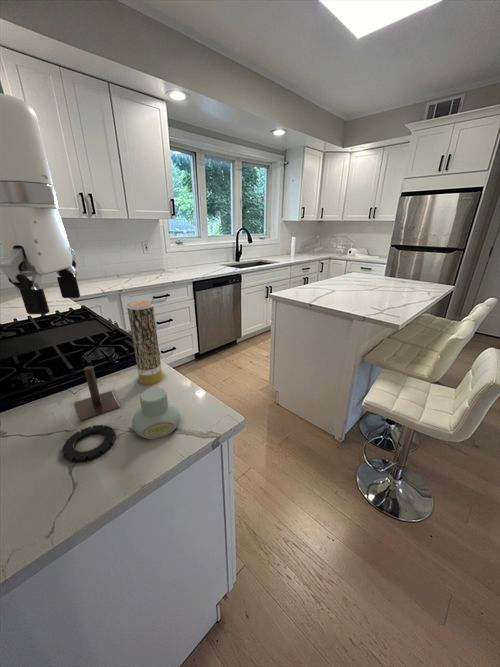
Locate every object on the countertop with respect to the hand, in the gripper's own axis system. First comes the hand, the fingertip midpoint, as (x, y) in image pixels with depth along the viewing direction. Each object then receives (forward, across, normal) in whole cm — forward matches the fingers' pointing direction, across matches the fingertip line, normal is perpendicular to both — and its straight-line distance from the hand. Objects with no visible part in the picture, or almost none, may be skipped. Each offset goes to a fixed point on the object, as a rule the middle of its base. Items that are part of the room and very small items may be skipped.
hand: (56, 304), depth 49 cm
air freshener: (+33, -5, +13) cm, 36 cm away
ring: (+33, 0, -1) cm, 33 cm away
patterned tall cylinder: (+33, -27, +5) cm, 43 cm away
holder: (+33, -14, -5) cm, 36 cm away
